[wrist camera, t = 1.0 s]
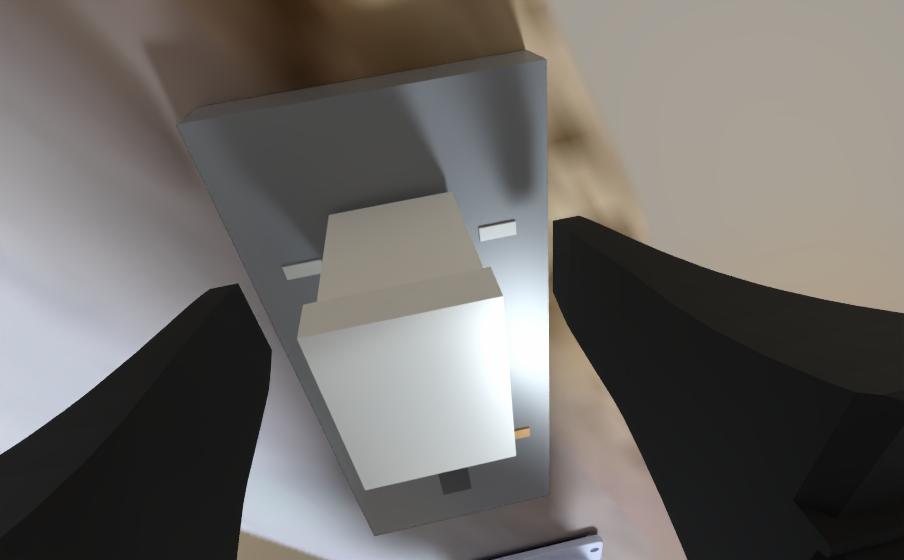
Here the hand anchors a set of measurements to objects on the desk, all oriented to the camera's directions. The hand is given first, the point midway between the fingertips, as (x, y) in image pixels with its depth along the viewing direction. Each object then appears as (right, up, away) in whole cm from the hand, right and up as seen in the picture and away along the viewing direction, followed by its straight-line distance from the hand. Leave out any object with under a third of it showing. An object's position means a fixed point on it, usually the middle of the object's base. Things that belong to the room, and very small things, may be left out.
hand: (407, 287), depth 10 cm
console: (0, -2, +6) cm, 6 cm away
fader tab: (0, +1, +1) cm, 2 cm away
